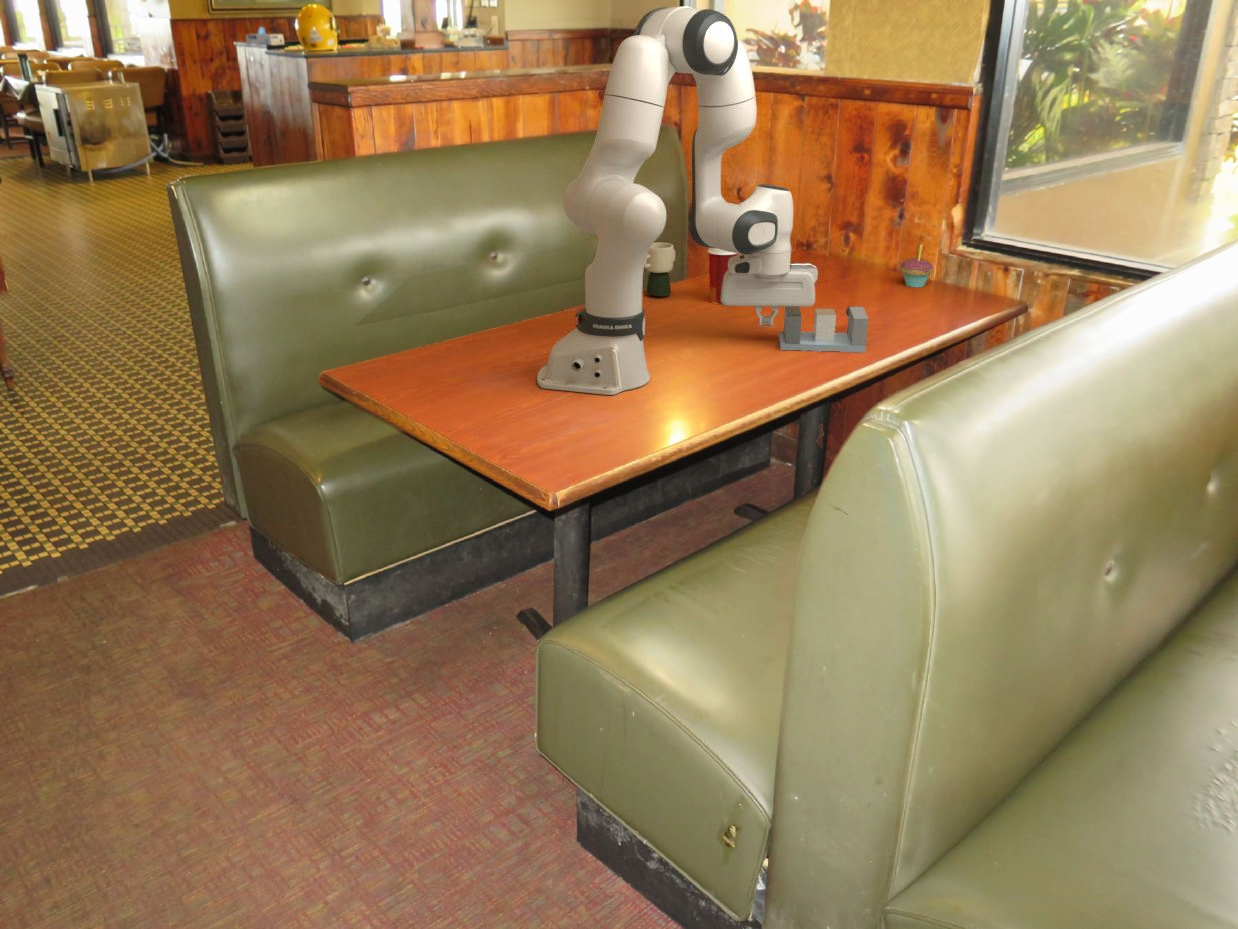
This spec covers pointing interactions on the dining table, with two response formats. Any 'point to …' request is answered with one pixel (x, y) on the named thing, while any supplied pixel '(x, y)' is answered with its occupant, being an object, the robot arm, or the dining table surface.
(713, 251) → the paper cup
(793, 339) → the jaw
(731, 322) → the dining table surface
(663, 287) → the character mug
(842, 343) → the vise base
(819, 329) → the block
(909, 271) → the cupcake
